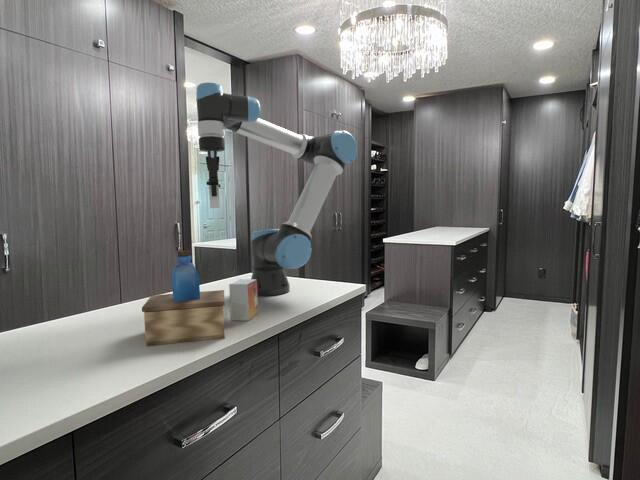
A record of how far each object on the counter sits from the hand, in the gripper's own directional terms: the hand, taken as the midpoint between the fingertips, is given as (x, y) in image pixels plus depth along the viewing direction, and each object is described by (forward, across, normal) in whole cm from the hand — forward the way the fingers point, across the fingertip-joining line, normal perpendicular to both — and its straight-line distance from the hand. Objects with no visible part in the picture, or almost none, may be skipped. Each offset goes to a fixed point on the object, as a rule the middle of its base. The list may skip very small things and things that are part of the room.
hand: (215, 208), depth 126 cm
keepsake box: (+32, -22, +8) cm, 39 cm away
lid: (+24, -22, +8) cm, 33 cm away
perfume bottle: (+23, -22, +8) cm, 33 cm away
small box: (+32, -11, -7) cm, 35 cm away
